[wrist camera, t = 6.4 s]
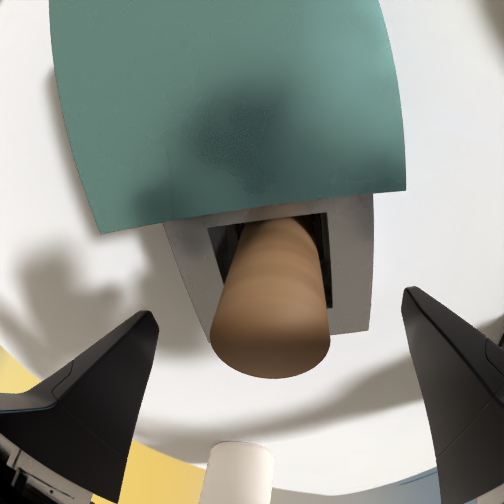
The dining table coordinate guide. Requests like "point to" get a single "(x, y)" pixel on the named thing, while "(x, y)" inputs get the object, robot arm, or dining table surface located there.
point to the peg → (273, 301)
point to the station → (234, 128)
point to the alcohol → (238, 474)
